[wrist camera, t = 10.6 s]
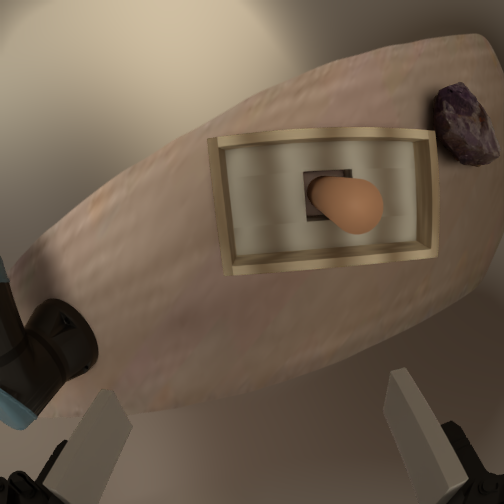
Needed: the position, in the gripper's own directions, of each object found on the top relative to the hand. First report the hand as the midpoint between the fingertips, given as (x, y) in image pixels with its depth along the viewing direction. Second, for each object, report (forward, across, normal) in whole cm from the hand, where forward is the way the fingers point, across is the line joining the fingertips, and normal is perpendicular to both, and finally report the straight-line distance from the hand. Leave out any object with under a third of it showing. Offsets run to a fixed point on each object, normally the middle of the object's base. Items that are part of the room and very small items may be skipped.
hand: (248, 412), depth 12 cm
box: (+26, +9, +7) cm, 29 cm away
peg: (+26, +9, +7) cm, 29 cm away
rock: (+26, +29, +14) cm, 41 cm away
